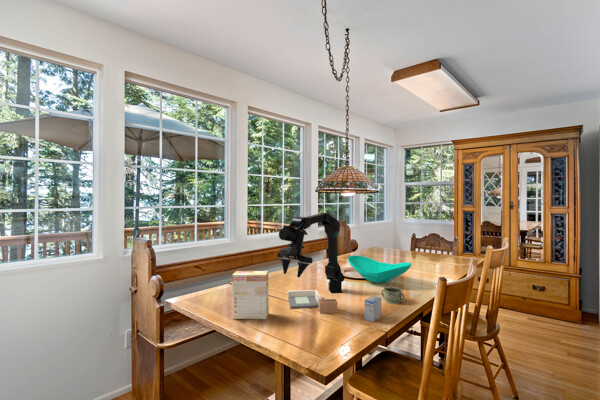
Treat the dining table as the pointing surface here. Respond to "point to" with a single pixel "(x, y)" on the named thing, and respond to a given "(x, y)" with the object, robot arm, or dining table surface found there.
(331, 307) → the terracotta block
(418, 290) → the dining table surface
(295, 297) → the tray
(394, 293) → the vessel
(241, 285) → the coffeecake box
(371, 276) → the table top decor
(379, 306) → the medicine box
